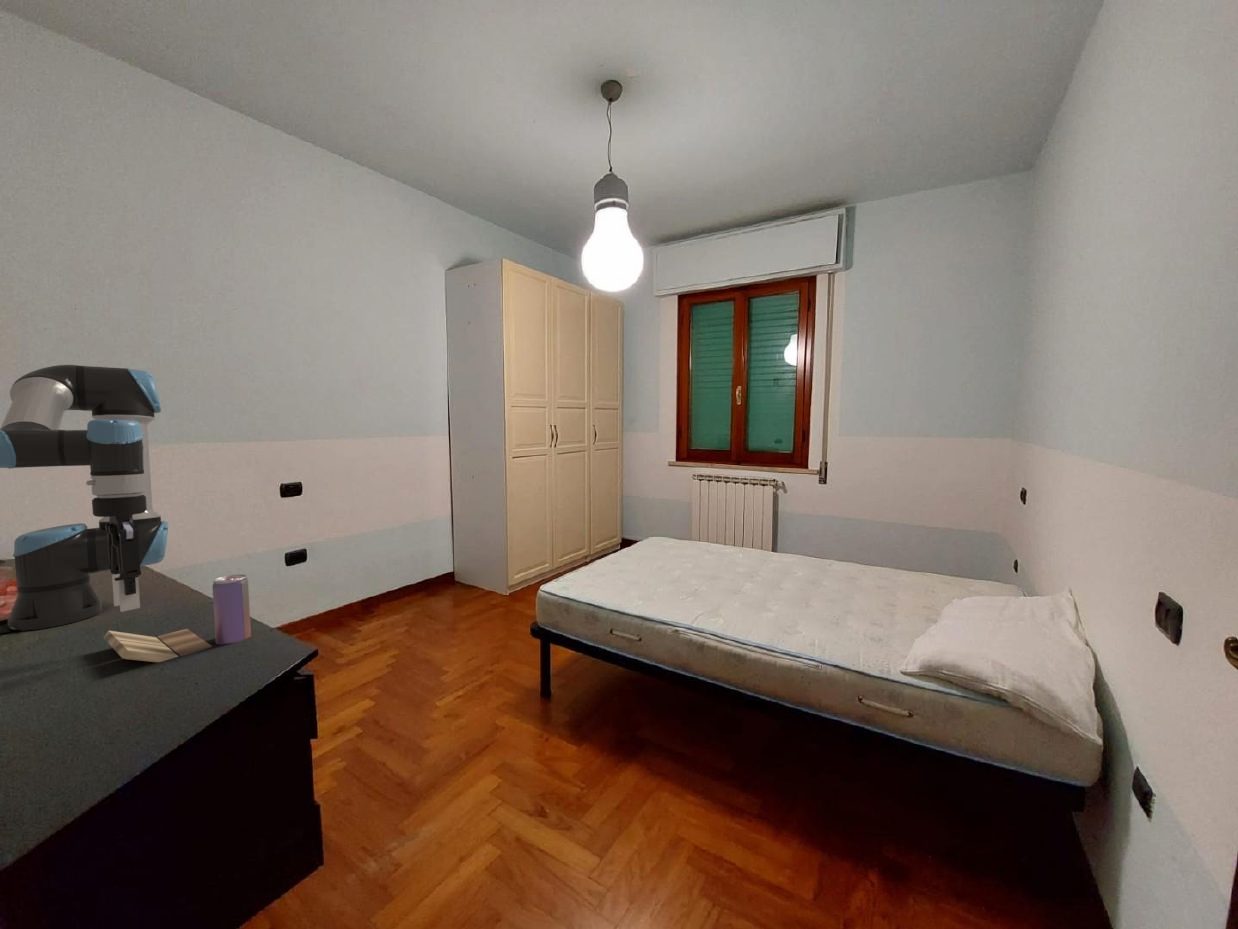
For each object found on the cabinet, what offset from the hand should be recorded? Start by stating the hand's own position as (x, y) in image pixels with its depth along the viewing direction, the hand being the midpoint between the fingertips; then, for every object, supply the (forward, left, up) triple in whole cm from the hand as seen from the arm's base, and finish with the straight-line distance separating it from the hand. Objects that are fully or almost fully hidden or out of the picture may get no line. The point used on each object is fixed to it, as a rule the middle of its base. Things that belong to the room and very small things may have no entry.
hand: (126, 606), depth 96 cm
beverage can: (+11, +14, -11) cm, 21 cm away
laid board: (+4, +7, -11) cm, 14 cm away
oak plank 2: (+8, 0, -9) cm, 12 cm away
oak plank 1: (0, 0, -9) cm, 9 cm away
